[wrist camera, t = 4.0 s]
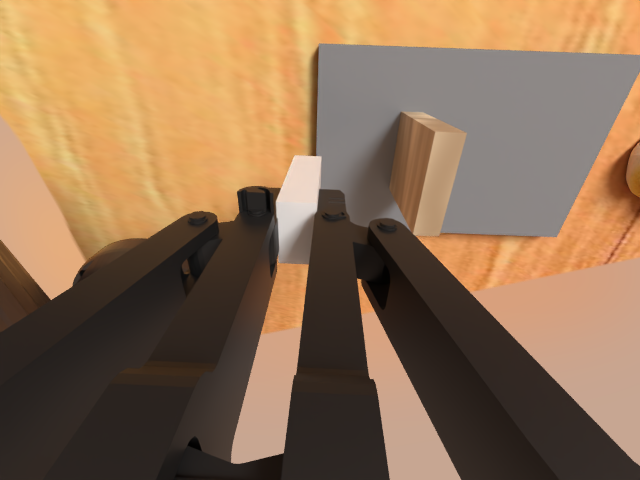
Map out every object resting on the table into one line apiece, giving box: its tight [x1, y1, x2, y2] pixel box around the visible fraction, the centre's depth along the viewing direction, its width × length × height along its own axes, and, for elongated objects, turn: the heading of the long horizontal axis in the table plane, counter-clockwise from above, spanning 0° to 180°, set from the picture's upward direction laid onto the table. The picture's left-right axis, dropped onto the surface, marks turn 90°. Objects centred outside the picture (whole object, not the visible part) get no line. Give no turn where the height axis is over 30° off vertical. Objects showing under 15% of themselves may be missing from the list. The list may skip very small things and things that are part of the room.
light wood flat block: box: [389, 111, 467, 236], centre depth 20 cm, size 2×6×8 cm, turn 178°
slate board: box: [316, 44, 640, 237], centre depth 24 cm, size 22×14×1 cm, turn 88°
